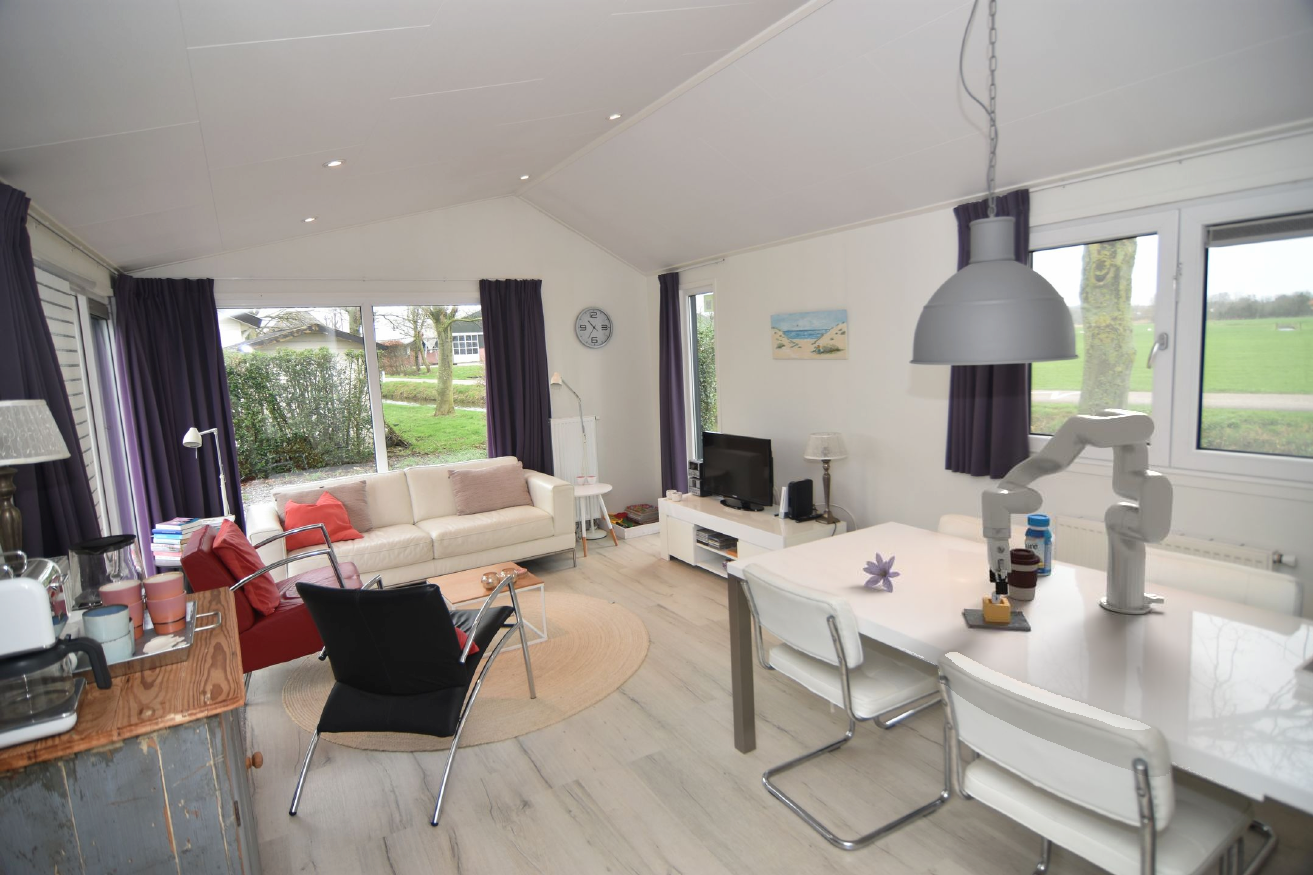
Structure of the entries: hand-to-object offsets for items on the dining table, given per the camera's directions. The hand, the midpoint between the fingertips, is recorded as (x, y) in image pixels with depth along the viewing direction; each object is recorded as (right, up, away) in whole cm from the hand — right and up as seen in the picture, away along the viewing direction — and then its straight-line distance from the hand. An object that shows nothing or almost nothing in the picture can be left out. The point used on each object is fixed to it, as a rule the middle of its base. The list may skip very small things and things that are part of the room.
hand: (998, 588), depth 205 cm
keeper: (0, -10, +1) cm, 10 cm away
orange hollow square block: (0, -9, +1) cm, 9 cm away
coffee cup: (+16, -7, +18) cm, 25 cm away
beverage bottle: (+33, -3, +39) cm, 51 cm away
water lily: (-24, -7, +35) cm, 43 cm away
